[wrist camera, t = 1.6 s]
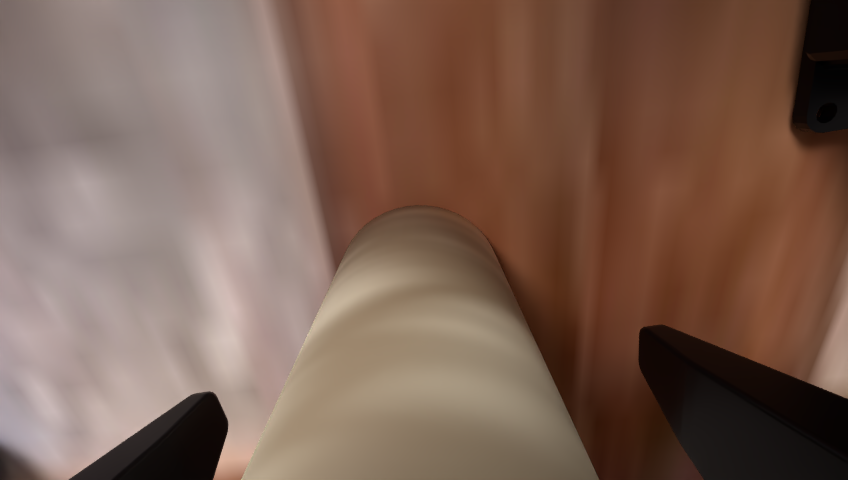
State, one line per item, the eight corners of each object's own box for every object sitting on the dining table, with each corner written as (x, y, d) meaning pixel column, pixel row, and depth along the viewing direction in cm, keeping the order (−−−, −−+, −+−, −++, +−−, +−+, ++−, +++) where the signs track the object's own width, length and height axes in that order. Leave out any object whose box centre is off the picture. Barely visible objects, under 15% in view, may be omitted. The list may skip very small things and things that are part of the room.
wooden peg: (489, 192, 11) (804, 647, 2) (506, 335, 13) (716, 929, 4) (323, 220, 12) (-64, 739, 2) (361, 357, 13) (227, 964, 4)
